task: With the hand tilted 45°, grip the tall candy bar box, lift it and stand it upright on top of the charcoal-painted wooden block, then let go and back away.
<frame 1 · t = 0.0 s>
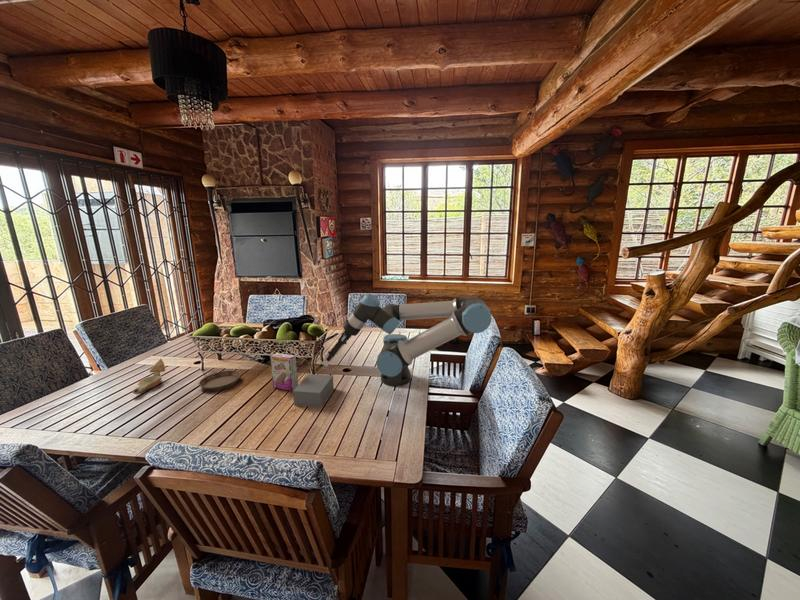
hand: (329, 358, 147), 15 cm above the table, tool tilted 35°, fingers open, 13 cm apart
plant saucer: (220, 384, 156), on the table
charcoal block: (315, 397, 144), on the table
candy bar box: (285, 388, 152), on the table
oil lamp: (150, 387, 154), on the table
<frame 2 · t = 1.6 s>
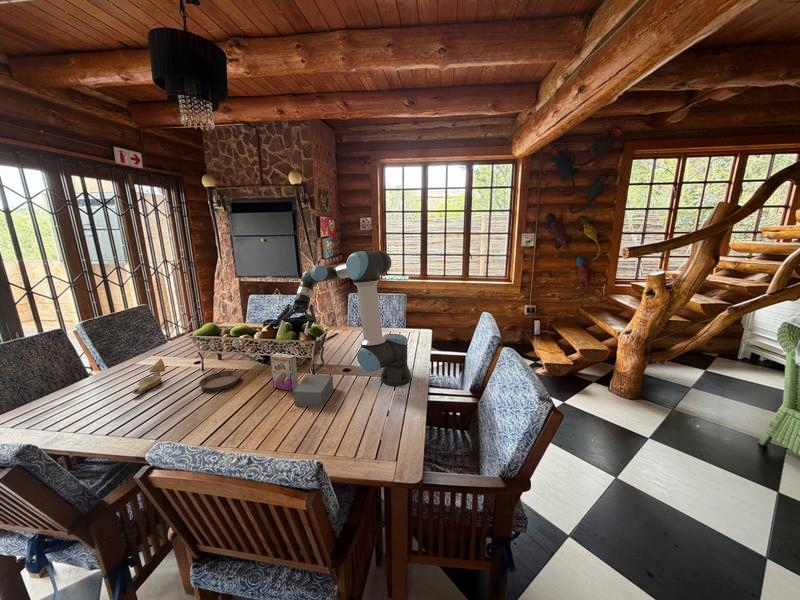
hand: (292, 333, 158), 23 cm above the table, tool tilted 45°, fingers open, 13 cm apart
nothing on the table moved.
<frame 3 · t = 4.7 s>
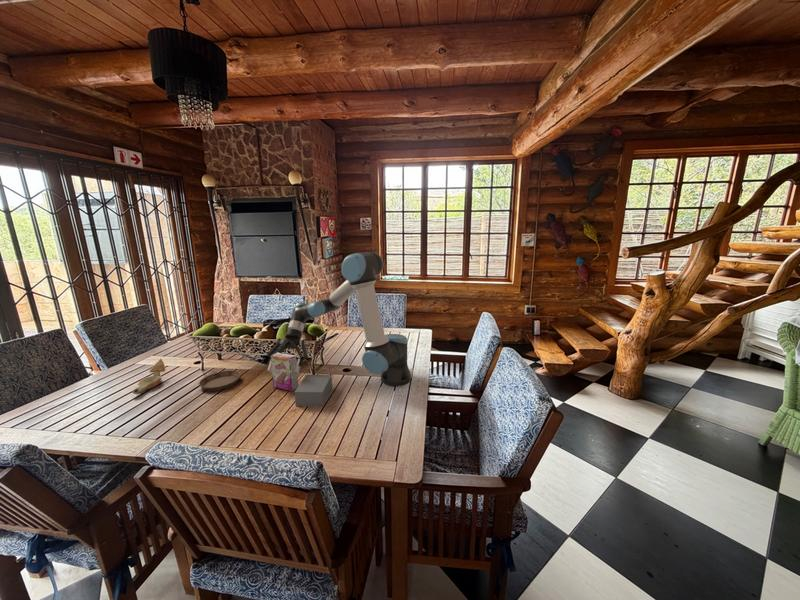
hand: (282, 371, 150), 8 cm above the table, tool tilted 45°, fingers open, 13 cm apart
nothing on the table moved.
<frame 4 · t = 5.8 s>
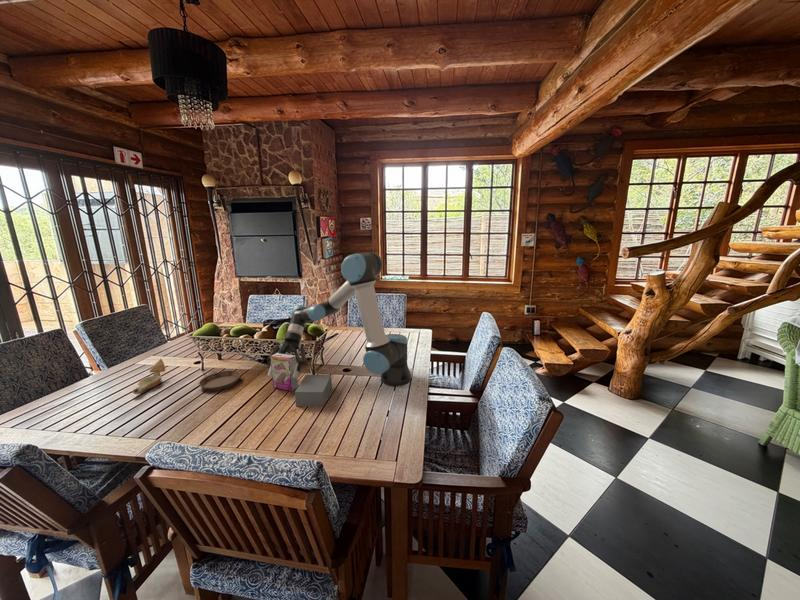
hand: (281, 377, 148), 7 cm above the table, tool tilted 45°, fingers closed on candy bar box, 12 cm apart
candy bar box: (285, 388, 152), on the table, touching gripper
everything else where it was.
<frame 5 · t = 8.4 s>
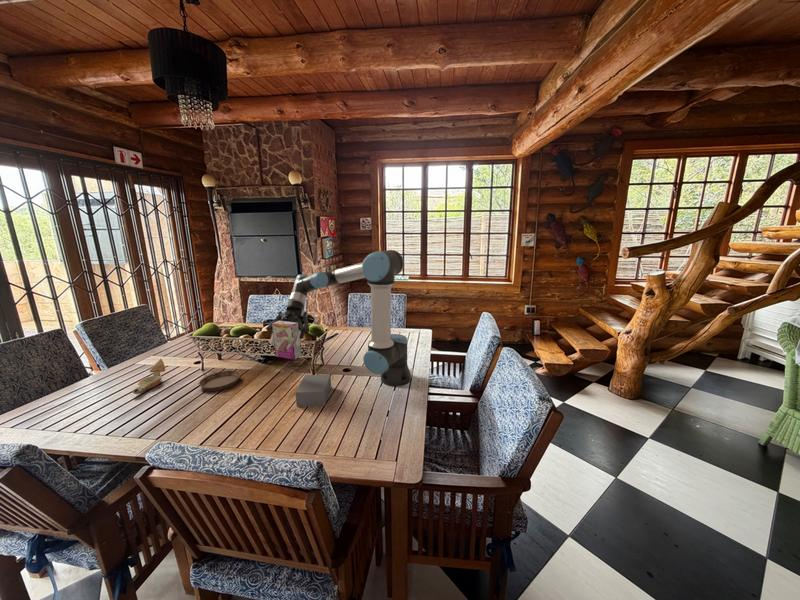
hand: (284, 344, 142), 23 cm above the table, tool tilted 45°, fingers closed on candy bar box, 12 cm apart
candy bar box: (288, 357, 146), point 16 cm above the table, touching gripper
everything else where it was.
when the fingers open (15 cm above the table, at t = 11.4 s): candy bar box drops 2 cm, point 6 cm above the table.
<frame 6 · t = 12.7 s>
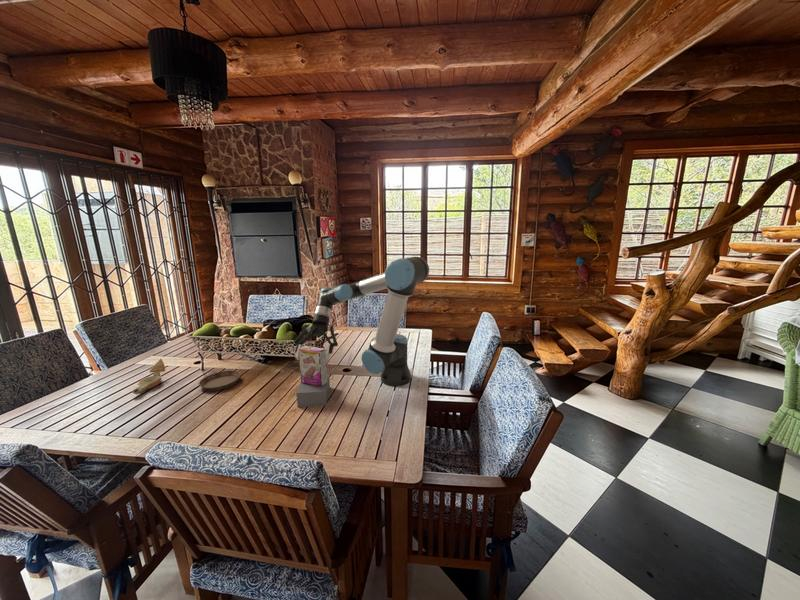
hand: (311, 359, 140), 18 cm above the table, tool tilted 45°, fingers open, 13 cm apart
candy bar box: (314, 383, 142), point 6 cm above the table, touching gripper
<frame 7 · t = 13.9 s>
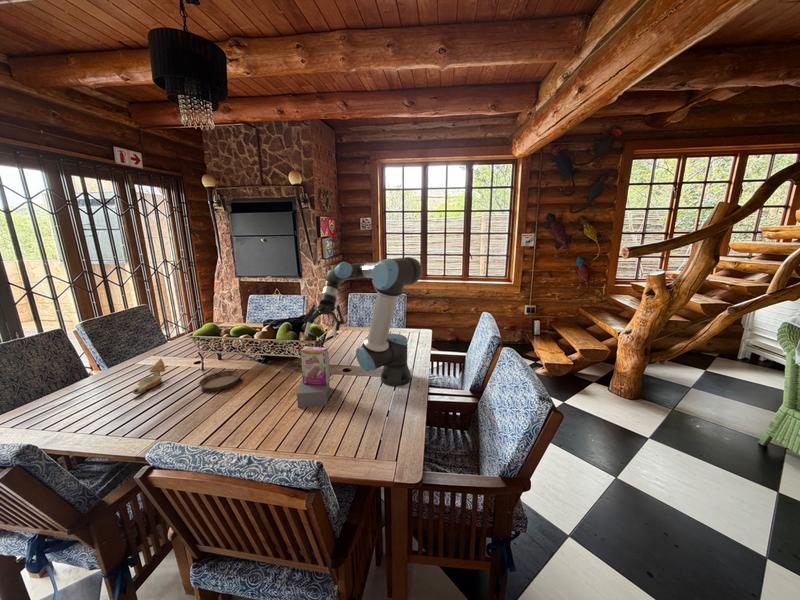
hand: (319, 336, 148), 25 cm above the table, tool tilted 45°, fingers open, 13 cm apart
candy bar box: (316, 383, 142), point 6 cm above the table
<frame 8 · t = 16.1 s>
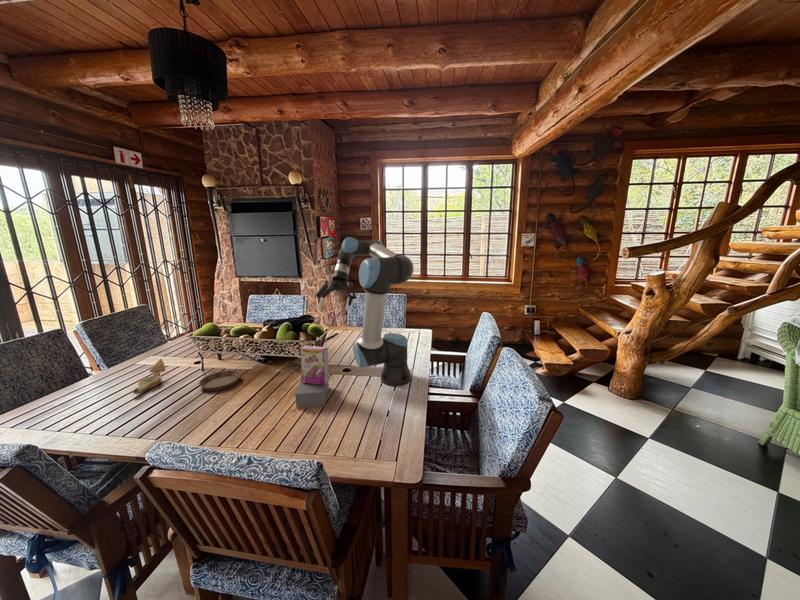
hand: (333, 310, 153), 36 cm above the table, tool tilted 45°, fingers open, 13 cm apart
charcoal block: (313, 397, 143), on the table, touching candy bar box
candy bar box: (315, 382, 142), point 7 cm above the table, touching charcoal block
everything else where it was.
at the end: candy bar box inside the target area on the charcoal block (1.4 cm from its centre), point 6.8 cm above the charcoal block's base; candy bar box tilted 1°; the gripper is holding nothing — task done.
